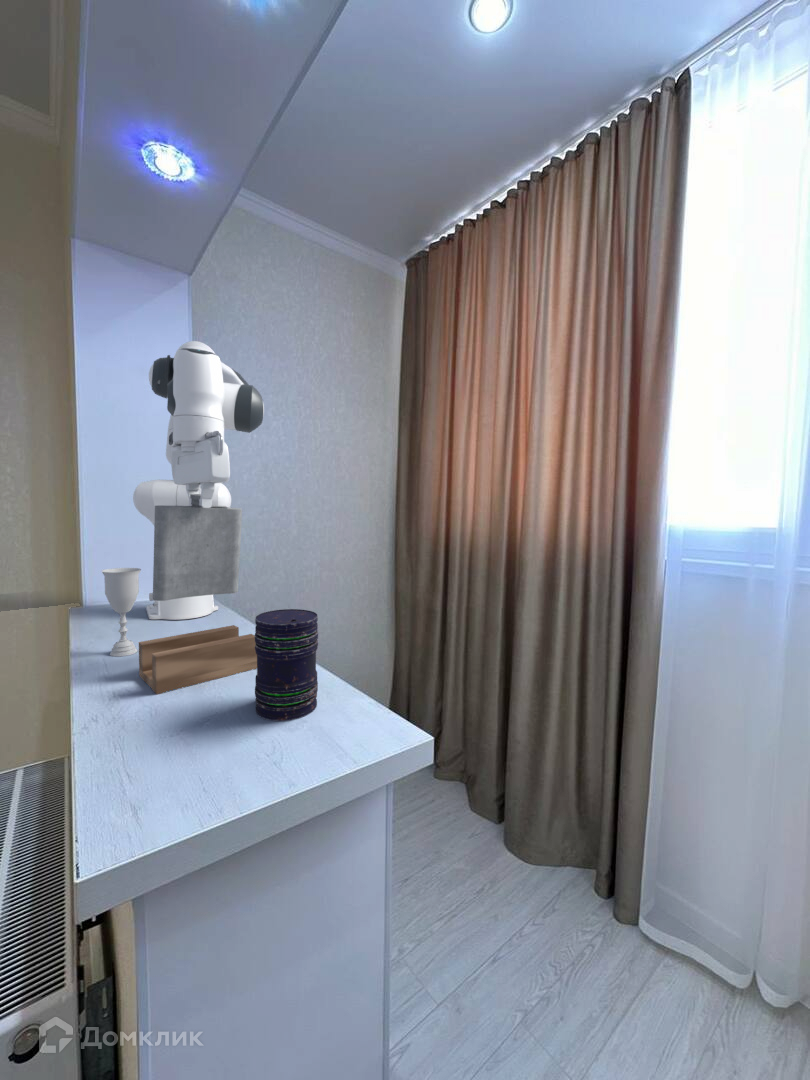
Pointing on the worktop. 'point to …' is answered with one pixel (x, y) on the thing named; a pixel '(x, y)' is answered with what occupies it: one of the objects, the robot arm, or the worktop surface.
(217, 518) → the hip flask
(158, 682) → the u rest
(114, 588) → the chalice
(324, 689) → the worktop surface
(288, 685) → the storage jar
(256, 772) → the worktop surface
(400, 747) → the worktop surface
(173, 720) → the worktop surface
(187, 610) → the robot arm
